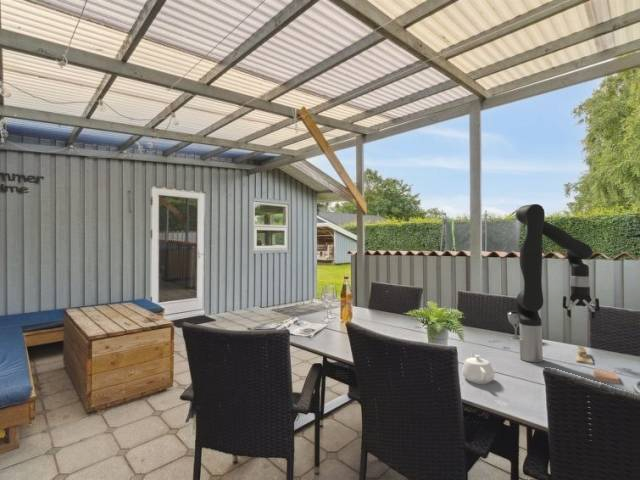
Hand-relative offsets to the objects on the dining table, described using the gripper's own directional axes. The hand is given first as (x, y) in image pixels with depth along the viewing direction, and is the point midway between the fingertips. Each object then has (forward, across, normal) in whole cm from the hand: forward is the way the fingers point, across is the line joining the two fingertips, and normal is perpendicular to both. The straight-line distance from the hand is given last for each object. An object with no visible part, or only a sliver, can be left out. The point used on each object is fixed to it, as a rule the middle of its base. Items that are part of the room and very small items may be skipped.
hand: (580, 318), depth 163 cm
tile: (+18, +5, -26) cm, 33 cm away
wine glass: (+20, -28, +23) cm, 42 cm away
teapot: (+20, -40, -52) cm, 68 cm away
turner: (+19, 0, -2) cm, 19 cm away
